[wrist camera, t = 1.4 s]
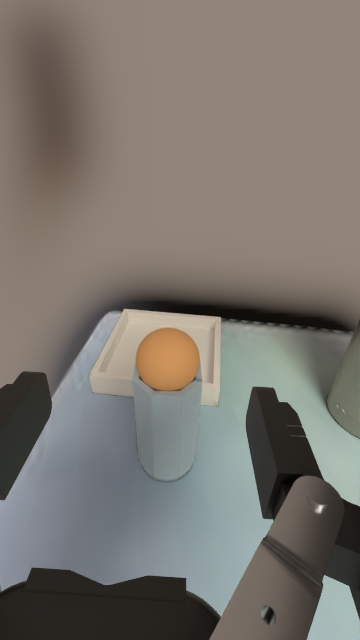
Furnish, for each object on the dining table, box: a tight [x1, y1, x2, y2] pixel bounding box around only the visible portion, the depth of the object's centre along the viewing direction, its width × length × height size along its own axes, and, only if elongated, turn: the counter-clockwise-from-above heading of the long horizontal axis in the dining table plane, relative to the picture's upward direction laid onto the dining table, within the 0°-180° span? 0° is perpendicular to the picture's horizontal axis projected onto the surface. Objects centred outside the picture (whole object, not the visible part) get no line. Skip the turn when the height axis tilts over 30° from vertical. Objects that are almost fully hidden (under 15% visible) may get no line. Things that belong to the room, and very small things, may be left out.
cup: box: [132, 361, 202, 482], centre depth 29 cm, size 6×6×12 cm
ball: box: [136, 328, 200, 391], centre depth 25 cm, size 5×5×5 cm
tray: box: [89, 309, 221, 406], centre depth 44 cm, size 16×16×3 cm
